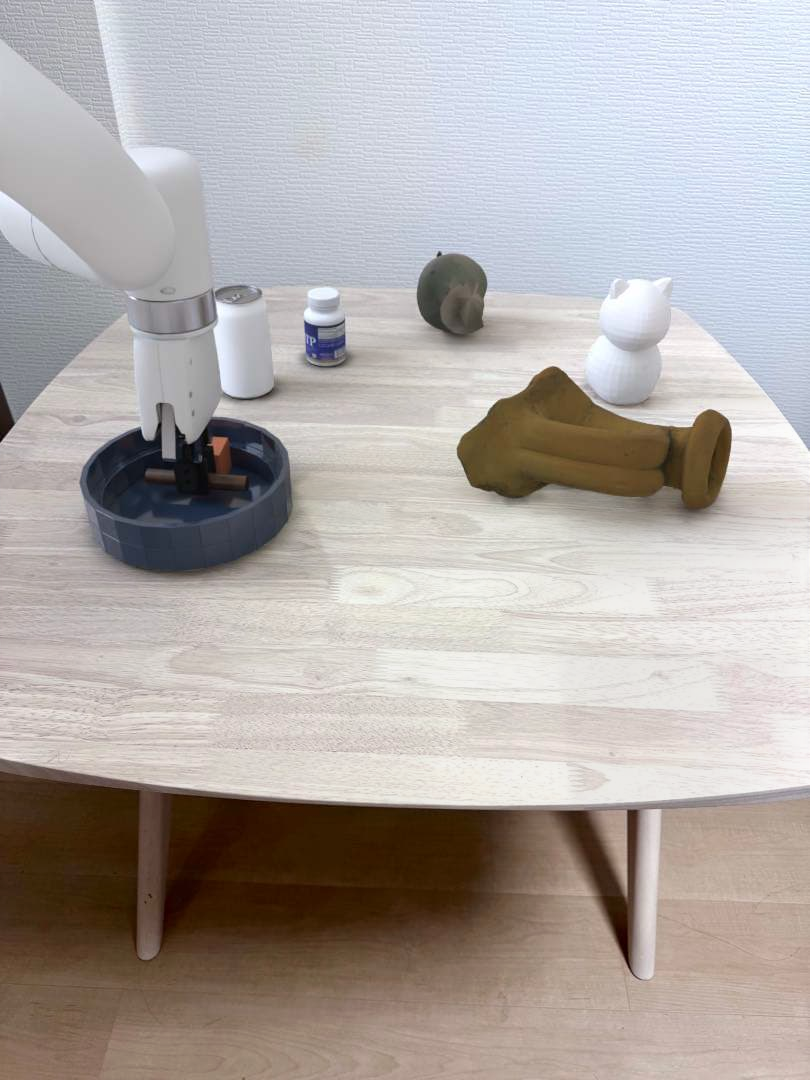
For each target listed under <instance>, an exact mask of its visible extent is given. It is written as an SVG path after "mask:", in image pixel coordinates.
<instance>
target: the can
mask: <svg viewBox="0 0 810 1080" xmlns="http://www.w3.org/2000/svg"><path fill="white" fill-rule="evenodd" d="M215 297H216V306H217V315H218V324H217V325H216V327H215V328H213V331H214V337H215V342H216V348H217V355H218V362H219V369H220V379H221V391H222V392H223V393H224V394H225V395H227V396H229V397H230V398H233V399H237V400H254V399H258V398H261V397H263V396H266V395H267V394H269V393H270V392H271V391H272V389H273V388H274V386H275V376H274V363H273V351H272V341H271V330H270V321H269V310H268V304H267V302H266V299H265V298H264V297H263V291H262V289H261V288H260V287H258V286H254V285H252V284H251V285H250V284H230V285H225V286H222V287H219V288H218V289H215Z"/></svg>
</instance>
